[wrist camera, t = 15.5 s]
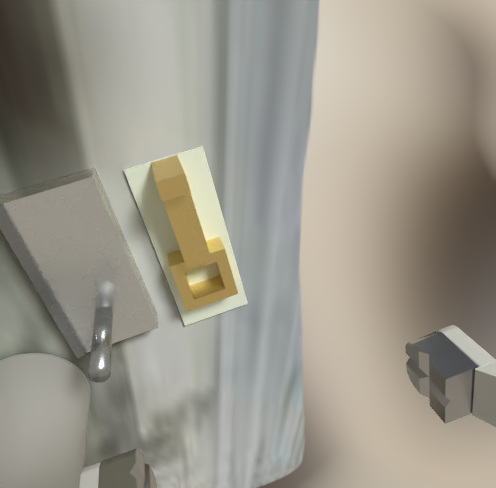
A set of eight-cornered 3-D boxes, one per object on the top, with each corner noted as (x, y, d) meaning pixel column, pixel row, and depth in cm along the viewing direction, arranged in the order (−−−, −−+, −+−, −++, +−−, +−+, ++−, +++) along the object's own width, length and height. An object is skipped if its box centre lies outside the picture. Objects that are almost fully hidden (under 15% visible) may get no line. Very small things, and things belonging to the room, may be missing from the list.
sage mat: (123, 169, 40) (123, 170, 40) (202, 146, 41) (202, 146, 41) (184, 323, 50) (185, 325, 50) (246, 301, 51) (247, 303, 51)
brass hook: (134, 167, 40) (135, 188, 35) (193, 149, 41) (204, 167, 35) (183, 297, 48) (190, 330, 43) (232, 280, 49) (245, 310, 43)
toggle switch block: (-2, 196, 39) (-48, 255, 28) (94, 167, 40) (84, 214, 29) (79, 338, 47) (67, 423, 37) (156, 311, 48) (165, 387, 38)
